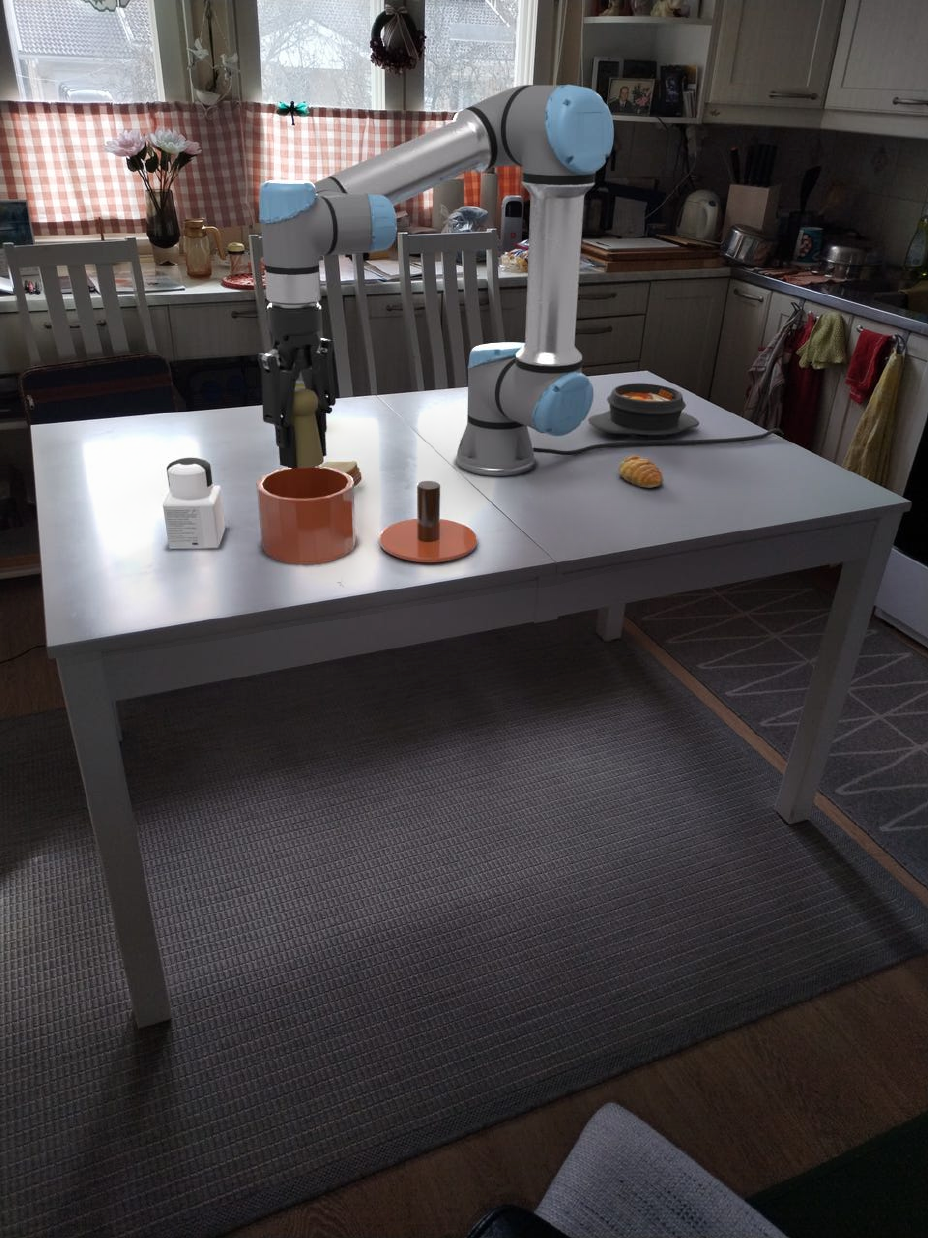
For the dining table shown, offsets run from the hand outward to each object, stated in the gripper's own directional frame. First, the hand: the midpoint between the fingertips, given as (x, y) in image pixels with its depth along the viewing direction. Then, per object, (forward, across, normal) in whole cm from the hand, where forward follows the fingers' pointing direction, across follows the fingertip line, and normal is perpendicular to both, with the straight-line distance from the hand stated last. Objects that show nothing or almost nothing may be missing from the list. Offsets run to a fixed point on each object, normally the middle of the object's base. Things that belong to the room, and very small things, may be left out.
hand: (303, 459), depth 140 cm
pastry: (+14, -59, +32) cm, 68 cm away
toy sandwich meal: (+14, -20, -14) cm, 28 cm away
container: (+14, +9, -16) cm, 23 cm away
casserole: (+14, -88, +20) cm, 91 cm away
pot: (+14, 0, 0) cm, 14 cm away
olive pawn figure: (0, 0, 0) cm, 0 cm away
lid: (+13, -11, +16) cm, 23 cm away
